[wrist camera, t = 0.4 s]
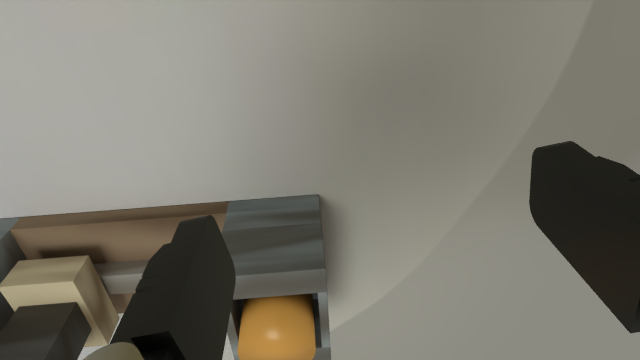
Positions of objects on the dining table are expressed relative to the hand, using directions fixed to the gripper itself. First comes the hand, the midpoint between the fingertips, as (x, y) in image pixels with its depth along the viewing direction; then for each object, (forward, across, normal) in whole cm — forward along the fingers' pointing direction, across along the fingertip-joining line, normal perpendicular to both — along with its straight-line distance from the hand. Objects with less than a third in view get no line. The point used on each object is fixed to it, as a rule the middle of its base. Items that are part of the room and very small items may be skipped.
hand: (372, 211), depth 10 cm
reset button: (+13, +7, +15) cm, 21 cm away
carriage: (+15, +23, +13) cm, 30 cm away
